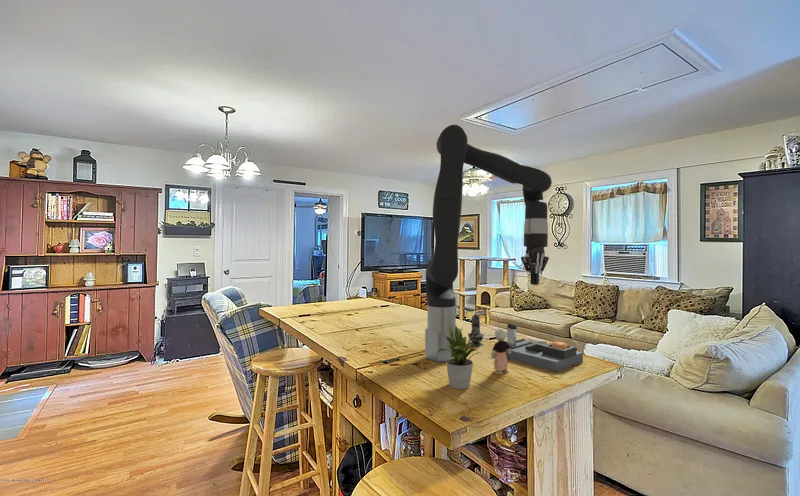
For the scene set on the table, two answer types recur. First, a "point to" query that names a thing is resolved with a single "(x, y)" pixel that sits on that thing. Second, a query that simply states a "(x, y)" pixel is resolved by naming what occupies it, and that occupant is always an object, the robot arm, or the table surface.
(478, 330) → the dark grey ornate statuette
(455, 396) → the table surface
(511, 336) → the slide lever
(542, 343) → the rocker switch
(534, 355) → the control panel
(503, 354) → the grandmother figurine
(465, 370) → the house plant
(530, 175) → the robot arm
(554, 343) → the push button
